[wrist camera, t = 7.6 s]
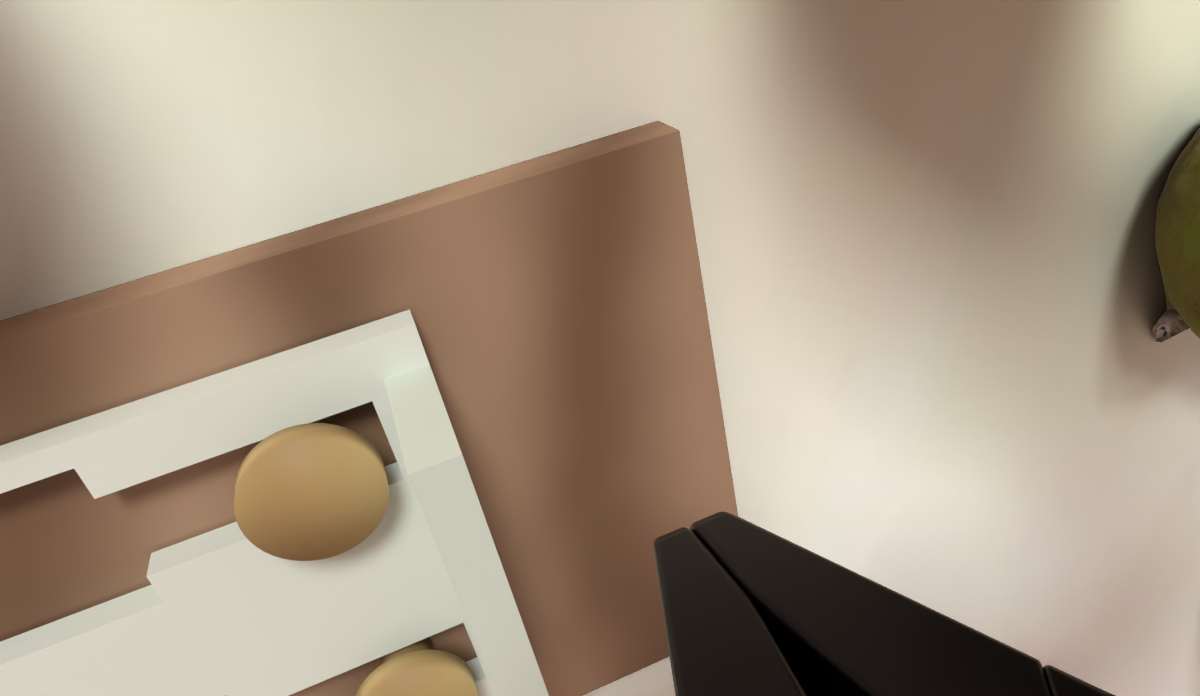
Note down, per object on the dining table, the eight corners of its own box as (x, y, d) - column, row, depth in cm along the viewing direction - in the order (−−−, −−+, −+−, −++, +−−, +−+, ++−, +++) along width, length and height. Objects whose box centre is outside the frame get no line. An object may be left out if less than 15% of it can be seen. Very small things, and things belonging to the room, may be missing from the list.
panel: (409, 309, 18) (446, 408, 14) (538, 667, 24) (588, 806, 20) (-207, 514, 15) (-365, 701, 12) (108, 856, 21) (72, 1054, 18)
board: (658, 120, 19) (722, 150, 17) (735, 593, 27) (788, 667, 24) (-252, 398, 16) (-368, 497, 13) (146, 853, 23) (129, 976, 21)
